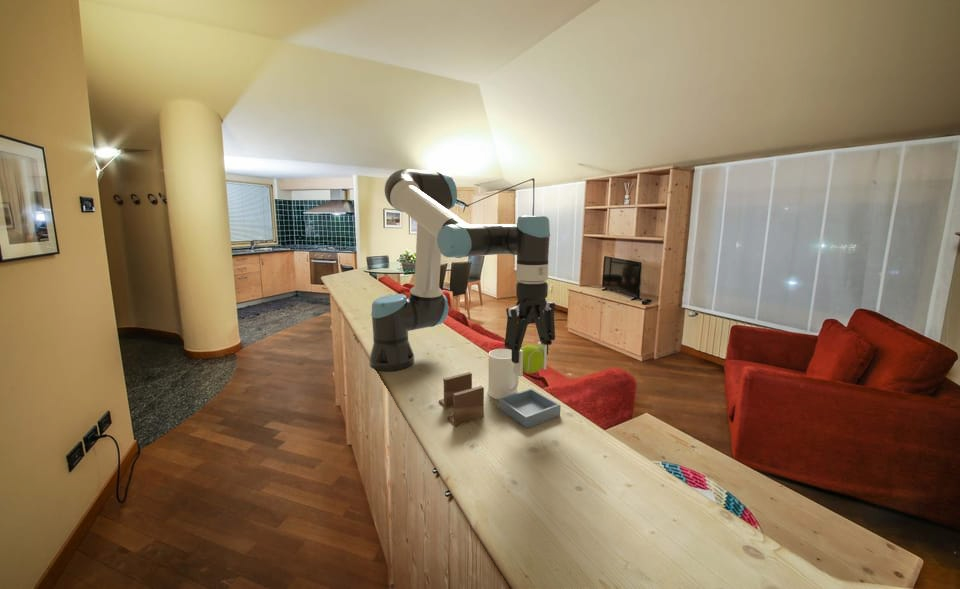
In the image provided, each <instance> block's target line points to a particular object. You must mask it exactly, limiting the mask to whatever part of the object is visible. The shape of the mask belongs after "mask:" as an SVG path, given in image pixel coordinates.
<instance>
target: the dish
mask: <svg viewBox="0 0 960 589" xmlns="http://www.w3.org/2000/svg"><path fill="white" fill-rule="evenodd" d="M497 409H498V410H499V411H500V412H501V413H503V414H504V415H506V416H507V417H508V418H510V419H511V420H512V421H514V422H515V423H517V424H518V425H519V426H521V427H522V428H524V429H526V430H527V429H529V428H532V427H535V426H537V425H540V424H542V423H545V422H548V421H550V420H553V419H555V418H558V417H560V416H561V404H560V403H558V402H556V401H555V400H553V399H551V398H549V397H547V396H546V395H544V394H542V393H540V392H539V391H538V390H535V389H533V388H529V389H526V390H522V391H519V392H518V391H517V393H515V394H512V395H509V396H505V397H502V398H499V399H498V408H497Z"/></svg>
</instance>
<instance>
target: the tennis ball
mask: <svg viewBox="0 0 960 589" xmlns="http://www.w3.org/2000/svg"><path fill="white" fill-rule="evenodd" d="M520 350H523V372H524V373H526V374H534V373H537V372H538V371H540V370H541V368H542V366H543V364H544V355H543V353H542V351H541V350H540V349H539V348H538V347H537V345H532V344H526V345H523V346H521V349H520Z"/></svg>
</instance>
